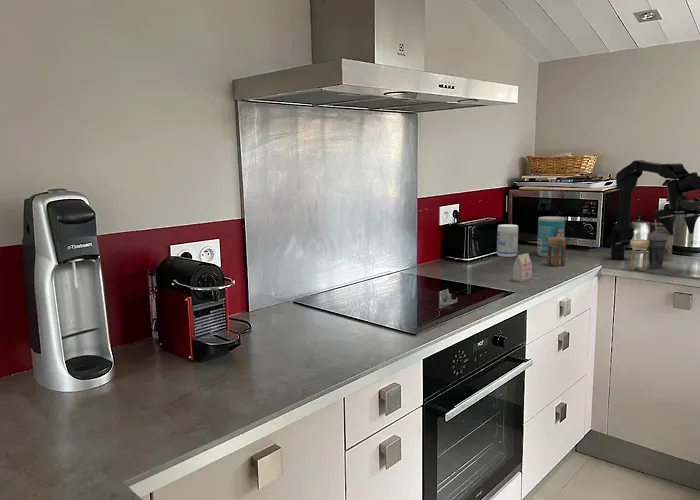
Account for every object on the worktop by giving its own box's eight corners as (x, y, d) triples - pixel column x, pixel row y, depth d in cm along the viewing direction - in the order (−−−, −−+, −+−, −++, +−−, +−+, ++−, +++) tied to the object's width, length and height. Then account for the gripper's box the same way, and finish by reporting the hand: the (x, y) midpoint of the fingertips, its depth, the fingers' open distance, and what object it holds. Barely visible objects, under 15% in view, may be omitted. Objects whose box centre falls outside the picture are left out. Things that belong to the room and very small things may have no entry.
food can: (565, 257, 261) (566, 219, 258) (538, 257, 264) (539, 219, 261) (562, 253, 272) (563, 216, 269) (536, 252, 275) (537, 216, 272)
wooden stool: (557, 263, 248) (557, 236, 246) (568, 265, 241) (569, 238, 240) (543, 264, 246) (544, 237, 244) (554, 267, 239) (555, 239, 237)
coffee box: (647, 259, 250) (649, 224, 247) (648, 257, 255) (650, 222, 252) (671, 261, 245) (673, 224, 242) (671, 259, 250) (674, 223, 247)
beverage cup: (669, 269, 229) (672, 220, 226) (651, 269, 230) (654, 220, 226) (659, 265, 237) (662, 218, 233) (642, 266, 237) (645, 219, 233)
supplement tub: (492, 255, 271) (493, 225, 269) (505, 253, 277) (505, 223, 274) (509, 258, 263) (509, 227, 261) (521, 255, 269) (522, 225, 267)
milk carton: (513, 280, 218) (513, 254, 216) (523, 277, 222) (523, 252, 220) (521, 281, 215) (521, 256, 213) (531, 278, 219) (532, 253, 217)
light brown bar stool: (628, 267, 235) (630, 238, 233) (647, 268, 232) (649, 239, 230) (629, 270, 229) (630, 241, 227) (648, 271, 226) (650, 242, 224)
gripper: (673, 192, 210) (678, 233, 209) (713, 189, 215) (719, 230, 213) (650, 197, 221) (655, 236, 220) (689, 195, 225) (694, 233, 224)
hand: (681, 234), depth 219 cm, fingers open, 9 cm apart
